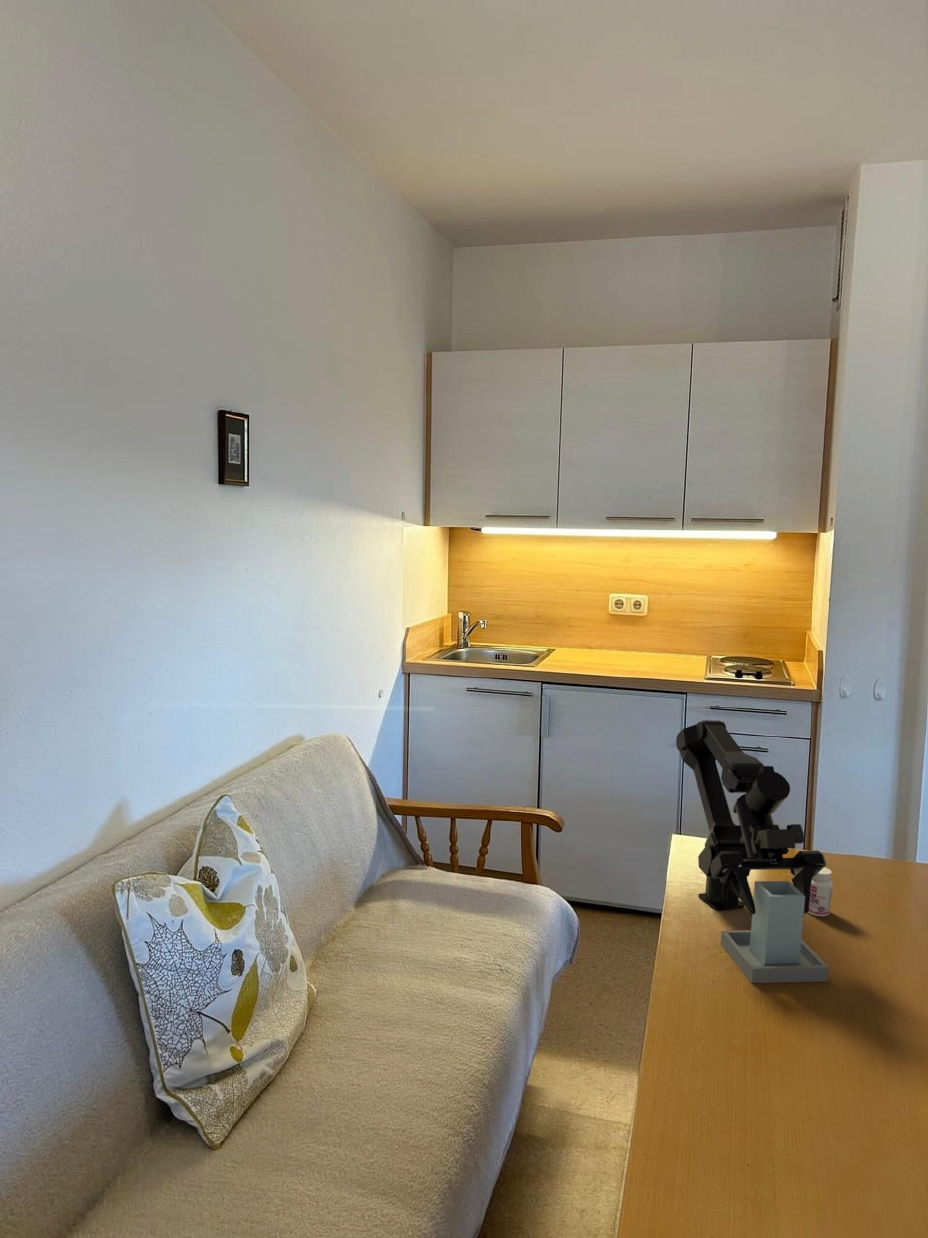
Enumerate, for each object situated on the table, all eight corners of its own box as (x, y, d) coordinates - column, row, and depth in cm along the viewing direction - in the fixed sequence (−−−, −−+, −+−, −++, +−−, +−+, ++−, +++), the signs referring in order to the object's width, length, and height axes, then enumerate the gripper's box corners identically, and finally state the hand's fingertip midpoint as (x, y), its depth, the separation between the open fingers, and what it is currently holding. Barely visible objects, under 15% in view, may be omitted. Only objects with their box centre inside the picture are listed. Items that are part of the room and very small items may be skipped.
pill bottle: (801, 913, 172) (805, 871, 171) (805, 904, 177) (808, 863, 176) (828, 919, 170) (832, 877, 169) (831, 910, 174) (835, 868, 173)
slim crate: (749, 950, 155) (754, 881, 154) (782, 950, 156) (788, 881, 154) (764, 968, 149) (770, 896, 148) (798, 967, 150) (805, 896, 149)
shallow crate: (720, 944, 159) (721, 930, 159) (790, 943, 160) (792, 929, 160) (751, 983, 146) (752, 968, 146) (827, 981, 148) (829, 967, 147)
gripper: (721, 806, 153) (743, 896, 143) (826, 806, 155) (854, 895, 145) (701, 833, 162) (720, 920, 152) (800, 833, 164) (825, 919, 154)
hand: (780, 913), depth 151 cm, fingers open, 9 cm apart
